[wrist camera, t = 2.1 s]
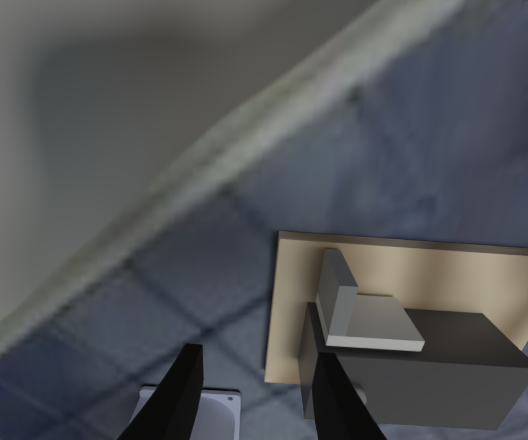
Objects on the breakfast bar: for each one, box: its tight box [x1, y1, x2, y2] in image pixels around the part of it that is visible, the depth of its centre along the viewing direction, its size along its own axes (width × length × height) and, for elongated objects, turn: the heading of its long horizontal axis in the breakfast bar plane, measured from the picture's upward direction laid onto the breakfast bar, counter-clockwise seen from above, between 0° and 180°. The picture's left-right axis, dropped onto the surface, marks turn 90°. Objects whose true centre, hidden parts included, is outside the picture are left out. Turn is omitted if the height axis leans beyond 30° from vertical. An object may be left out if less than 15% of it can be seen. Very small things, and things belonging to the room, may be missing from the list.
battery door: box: [316, 249, 425, 351], centre depth 17 cm, size 6×4×4 cm
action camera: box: [298, 302, 528, 430], centre depth 18 cm, size 14×6×5 cm, turn 86°
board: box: [265, 231, 528, 384], centre depth 21 cm, size 20×14×1 cm
